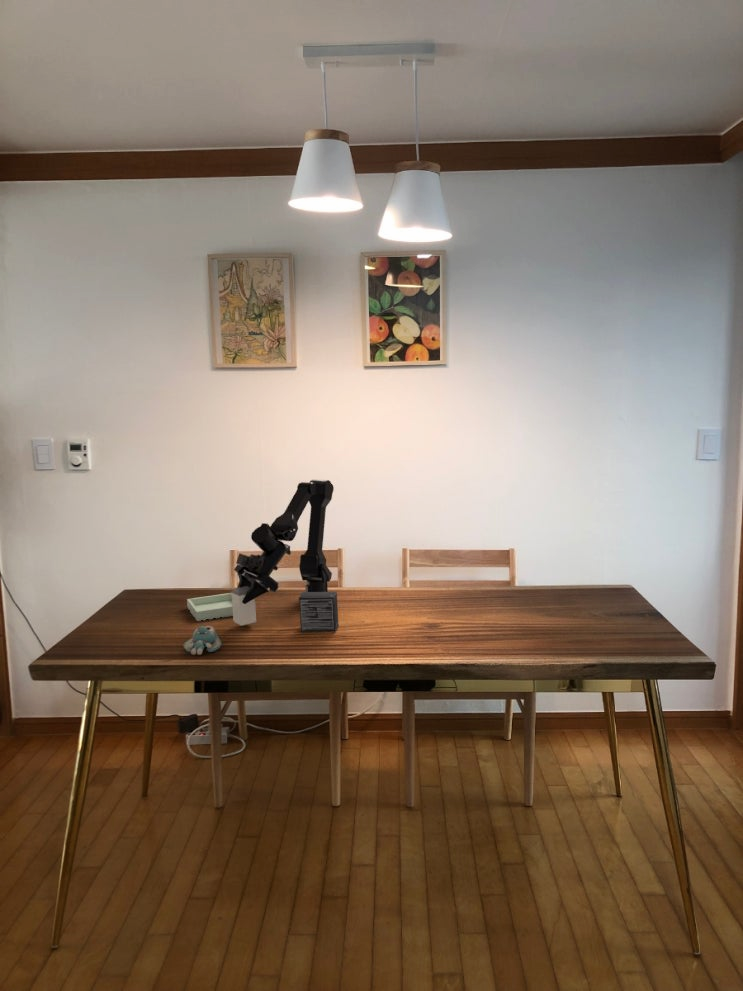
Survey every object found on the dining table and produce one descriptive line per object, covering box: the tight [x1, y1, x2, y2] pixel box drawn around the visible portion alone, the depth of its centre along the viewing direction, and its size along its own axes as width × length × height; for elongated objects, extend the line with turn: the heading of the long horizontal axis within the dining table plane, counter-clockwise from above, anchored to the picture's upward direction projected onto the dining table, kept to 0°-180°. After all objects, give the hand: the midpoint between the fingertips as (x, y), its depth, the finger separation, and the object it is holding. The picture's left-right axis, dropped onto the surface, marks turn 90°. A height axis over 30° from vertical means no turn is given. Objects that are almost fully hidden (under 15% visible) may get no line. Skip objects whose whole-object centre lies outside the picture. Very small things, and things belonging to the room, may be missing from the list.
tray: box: [186, 592, 233, 622], centre depth 255 cm, size 16×16×3 cm
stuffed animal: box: [182, 625, 222, 656], centre depth 219 cm, size 11×7×12 cm
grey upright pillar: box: [230, 586, 257, 627], centre depth 238 cm, size 5×5×10 cm
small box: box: [298, 591, 340, 633], centre depth 233 cm, size 11×6×10 cm, turn 84°
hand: (239, 601), depth 237 cm, fingers closed on grey upright pillar, 5 cm apart
